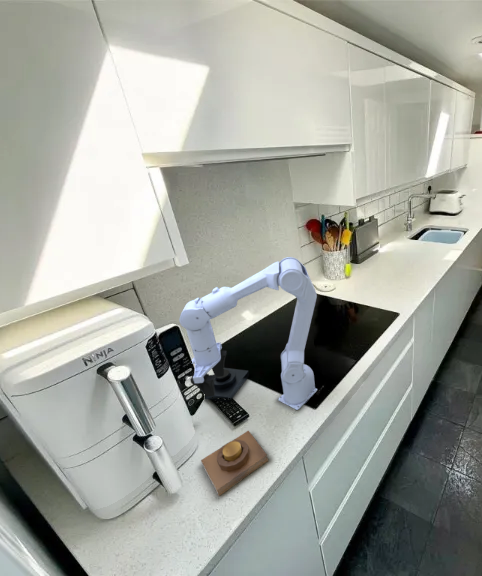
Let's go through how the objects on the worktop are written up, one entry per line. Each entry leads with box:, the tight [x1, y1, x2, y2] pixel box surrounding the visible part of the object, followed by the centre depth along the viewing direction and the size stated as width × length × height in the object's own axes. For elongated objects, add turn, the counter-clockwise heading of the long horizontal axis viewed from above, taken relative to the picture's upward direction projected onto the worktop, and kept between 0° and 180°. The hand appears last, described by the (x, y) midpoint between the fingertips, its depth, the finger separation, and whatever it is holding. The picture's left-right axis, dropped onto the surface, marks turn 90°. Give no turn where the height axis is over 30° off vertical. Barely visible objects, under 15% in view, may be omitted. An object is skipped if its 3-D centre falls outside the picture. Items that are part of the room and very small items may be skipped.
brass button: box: [223, 441, 242, 461], centre depth 73 cm, size 4×4×2 cm
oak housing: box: [200, 430, 269, 497], centre depth 75 cm, size 12×10×4 cm
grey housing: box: [204, 367, 250, 403], centre depth 98 cm, size 12×10×4 cm
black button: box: [216, 369, 230, 382], centre depth 97 cm, size 4×4×2 cm
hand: (215, 385), depth 85 cm, fingers open, 7 cm apart
